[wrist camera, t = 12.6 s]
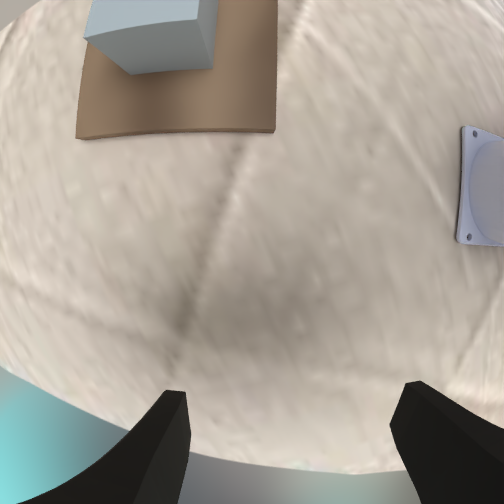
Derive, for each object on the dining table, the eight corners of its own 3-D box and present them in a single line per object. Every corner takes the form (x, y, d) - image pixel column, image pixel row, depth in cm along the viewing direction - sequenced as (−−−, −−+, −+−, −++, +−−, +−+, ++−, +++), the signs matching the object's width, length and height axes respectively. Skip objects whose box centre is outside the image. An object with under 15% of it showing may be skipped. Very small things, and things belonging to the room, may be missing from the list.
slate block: (218, 2, 12) (208, -57, 7) (212, 68, 13) (196, 19, 8) (140, 10, 12) (106, -39, 7) (130, 75, 13) (83, 38, 8)
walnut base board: (275, -22, 13) (277, -33, 11) (273, 133, 15) (275, 129, 14) (109, -8, 12) (102, -16, 11) (85, 140, 15) (75, 138, 14)
